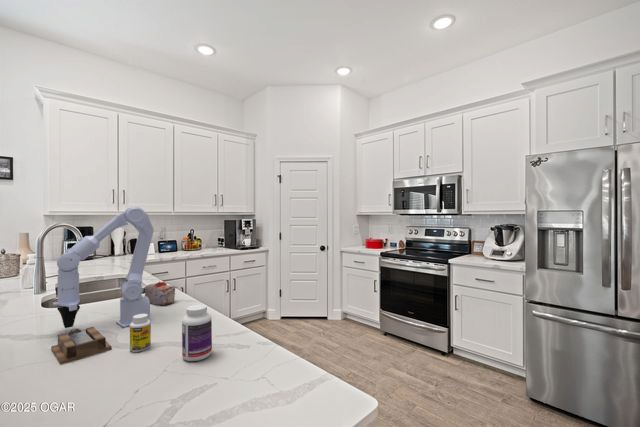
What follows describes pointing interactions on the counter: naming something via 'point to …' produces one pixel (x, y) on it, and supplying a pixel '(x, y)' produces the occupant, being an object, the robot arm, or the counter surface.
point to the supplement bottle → (140, 333)
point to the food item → (160, 293)
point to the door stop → (79, 336)
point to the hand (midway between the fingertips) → (68, 327)
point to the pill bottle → (196, 333)
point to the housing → (79, 347)
